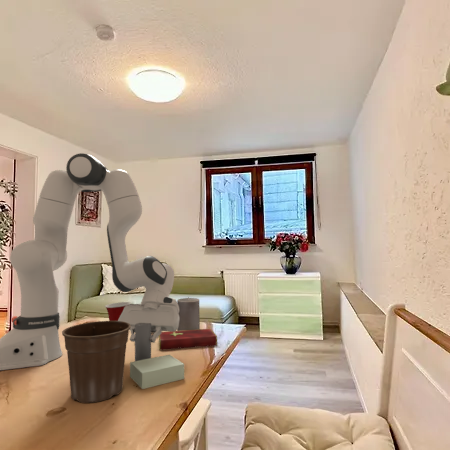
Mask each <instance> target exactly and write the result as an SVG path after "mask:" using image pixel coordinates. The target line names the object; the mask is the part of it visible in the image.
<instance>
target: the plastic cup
mask: <svg viewBox="0 0 450 450" xmlns="http://www.w3.org/2000/svg"><path fill="white" fill-rule="evenodd" d="M129 304H131V302H130V301H120V302H113V303H108V304H106V305H104V307H105V309H106V311H107V314H108V315H107V317H108V321H118V319H119V317H120V315H121V314H122V312H123V310H124V307H125V306H127V305H129Z"/></svg>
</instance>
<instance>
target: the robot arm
mask: <svg viewBox="0 0 450 450" xmlns="http://www.w3.org/2000/svg"><path fill="white" fill-rule="evenodd" d="M65 169H66V170H62V169H59V170H58V169H57V170H53V171H51V172H50V173H49V174H48V176H47V178H46V179H45V181H44V183H43V185H42V188H41V190H40V193H39V197H38V201H37V203H36V204H37V205H36V207H35V211H34V215H33V217H32V218H33V219H32V221H33V224H34V225H33V226H34V239H31V240H26V241H23V242H21V243H19V244H18V245H16V246H15V247H14V248H13V249H12V250H11V253H10V257H9V260H10V265H11V266H12V268H13V269H14V270H15V272H16V275H17V279H18V282H19V287H20V315H19V316H17V315H13V316H12V317H11V323H12V329H11V330H10V331H8V332H7V333H5V334H4V335H3V336H2V337H0V371H4V370H6V371H7V370H12V369H13V370H14V369H21V368H30V367H38V366H43V365H45V364H47V363H49V362H51V361H54V360H57V359H58V358H60V357H61V356H63V351H62V348H61V347H62V346H61V343H60V336H59V335H60V334H59V329H60V325H61V321H60V320H61V319H60V318H61V317H60V312H59V288H58V286H57V284H56V281H55V276H54V271H56V270H59V269H60V268H61V267H62V266H64V265H65V263H66V261H67V259H68V252H67V244H68V230H69V225H70V221H71V217H72V214H73V210H74V206H75V202H76V198H77V196H78V194H79V193H80V192H82V193H92V192H93V193H96V192H102V193H103V194H104V197H105V200H106V205H107V207H108V215H109V217H108V222H107V225H106V235H107V242H108V243H107V244H108V248H109V253H110V261H111V267H112V271H111V272H112V273H111V275H112V276H111V277H112V282H113V284H114V287H116V288H117V290H119V291H120V292H123V293H129V292H131V291H133V290H137V289H138V288H142V287H144V288H145V291H144V293H143V297H142V299H141V302H140V303H130V304H129V305H127V306H125V307H124V310H123V312H122V314H121V315H120V317H119V319H118V321H123V322H127V323H129V324H130V325H131V328H130V329H129V332H130V335H131V336H130V337H129V340H130V342H134V343H135V324H137V323H151V331H156V332H155V333H152V334H151V335H150V338H149V341H150V342H151V343H152V344H153V343H156V340H157V338H159V335H160V334H161V332H167V331H177V329H178V326H179V319H180V317H179V306H178V303H177V300H176V298H173V297H170V294H171V292H172V290H173V286H174V282H175V271H174V269H173V267H172V266H171V265H169V264H168V263H165V262H161V261H160V260H159V259H158V258H156V257H155V256H152V255H147V256H144V257H140V258H138V259H135V260H131V261H129V258H128V253H127V246H126V237H127V234H128V232H130V230H131V229H132V227H134V226H135V225H136V224H137V223H138V222H139V220H140V218H141V216H142V214H143V206H142V202H141V199H140V196H139V193H138V189H137V188H136V186H135V183H134V180H133V178H132V177H131V176H130V173H128V172H127V171H126V170H123V169H113V170H109V169H108V168H107V167H106V166H105V165H104V164H103V163H102V162H101V161H100V160H99V159H97V158H96V157H94V156H93V155H91V154H88V153H83V152H81V153H76V154H74V155H72V156H71V157H70V158H69V159H68V161H67V163H66V168H65Z"/></svg>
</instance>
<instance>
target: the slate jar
mask: <svg viewBox="0 0 450 450" xmlns="http://www.w3.org/2000/svg"><path fill="white" fill-rule="evenodd" d="M134 334H135V342H134V361H139V360H144V359H149V358H152V342H150V341H149V338H150V335H152V333H151V323H137V324H135V332H134Z"/></svg>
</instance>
